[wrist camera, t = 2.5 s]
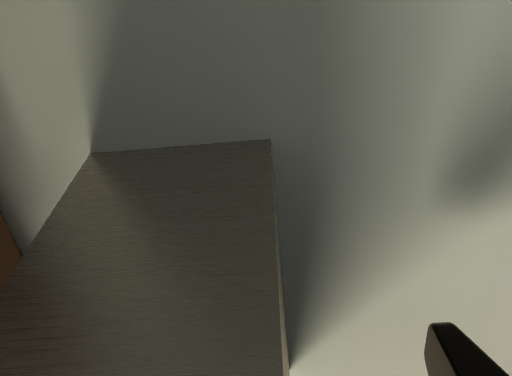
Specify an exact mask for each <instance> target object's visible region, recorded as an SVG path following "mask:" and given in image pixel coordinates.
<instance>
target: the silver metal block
mask: <svg viewBox="0 0 512 376" xmlns="http://www.w3.org/2000/svg"><path fill="white" fill-rule="evenodd" d="M0 376H290V372H289V360H288V348H287V335H286V323H285V311H284V299H283V286H282V274H281V262H280V250H279V238H278V225H277V213H276V201H275V189H274V176H273V164H272V152H271V140H270V139H265V140H252V141H240V142H227V143H215V144H203V145H190V146H178V147H165V148H153V149H140V150H128V151H116V152H103V153H91V154H90V155H89V156H88V158H87V159H86V161H85V162H84V164H83V165H82V167H81V168H80V170H79V171H78V173H77V175H76V176H75V178H74V179H73V181H72V182H71V184H70V185H69V187H68V188H67V190H66V191H65V193H64V194H63V196H62V197H61V199H60V200H59V202H58V204H57V205H56V207H55V208H54V210H53V211H52V213H51V214H50V216H49V217H48V219H47V220H46V222H45V223H44V225H43V226H42V228H41V229H40V231H39V232H38V234H37V236H36V237H35V239H34V240H33V242H32V243H31V245H30V246H29V248H28V249H27V251H26V252H25V254H24V255H23V257H22V258H21V260H20V261H19V263H18V265H17V266H16V268H15V269H14V271H13V272H12V274H11V275H10V277H9V278H8V280H7V281H6V283H5V284H4V286H3V287H2V289H1V290H0Z"/></svg>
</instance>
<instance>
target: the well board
mask: <svg viewBox="0 0 512 376" xmlns="http://www.w3.org/2000/svg"><path fill="white" fill-rule="evenodd" d="M21 258H22V256H21V254H20V252H19V250H18V248H17V246H16V244H15V242H14V239H13V237H12V235H11V233H10V231H9V229H8V227H7V225H6V223H5V221H4V219H3V217H2V215H1V213H0V290H1V289H2V287H3V286H4V284H5V283H6V281H7V280H8V278H9V277H10V275H11V274H12V272H13V271H14V269H15V268H16V266H17V265H18V263H19V261H20V260H21Z"/></svg>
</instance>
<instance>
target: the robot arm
mask: <svg viewBox="0 0 512 376" xmlns="http://www.w3.org/2000/svg"><path fill="white" fill-rule="evenodd" d="M424 356H425V363H426V367H427V371H428V375H429V376H509V375H508V374H507V373H506V372H505V371H504V370H503V369H502V368H501V367H500V366H498V365H497V364H496V363H495V362H494V361H493V360H492V359H491V358H490V357H489V356H488V355H487V354H486V353H485V352H483V351H482V350H481V349H480V348H479V347H478V346H477V345H476V344H475V343H474V342H473V341H472V340H471V339H470V338H468V337H467V336H466V335H465V334H464V333H463V332H462V331H461V330H460V329H459V328H458V327H457V326H456V325H454V324H453V323H450V322H442V323H432V324H430V325H429V327H428V332H427V338H426V344H425V350H424Z"/></svg>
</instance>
